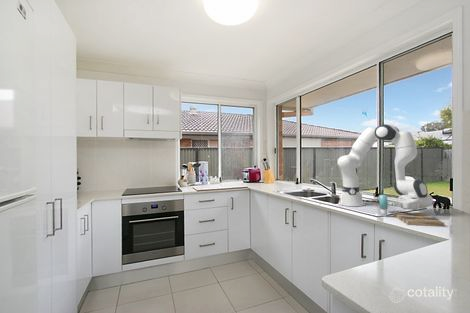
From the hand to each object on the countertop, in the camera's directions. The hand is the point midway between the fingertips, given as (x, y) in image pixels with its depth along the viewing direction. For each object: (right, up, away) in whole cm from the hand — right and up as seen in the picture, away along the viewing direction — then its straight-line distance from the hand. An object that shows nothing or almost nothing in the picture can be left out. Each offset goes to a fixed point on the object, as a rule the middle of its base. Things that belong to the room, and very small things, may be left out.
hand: (386, 203), depth 138 cm
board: (+9, -7, -11) cm, 17 cm away
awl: (-2, -8, 0) cm, 8 cm away
